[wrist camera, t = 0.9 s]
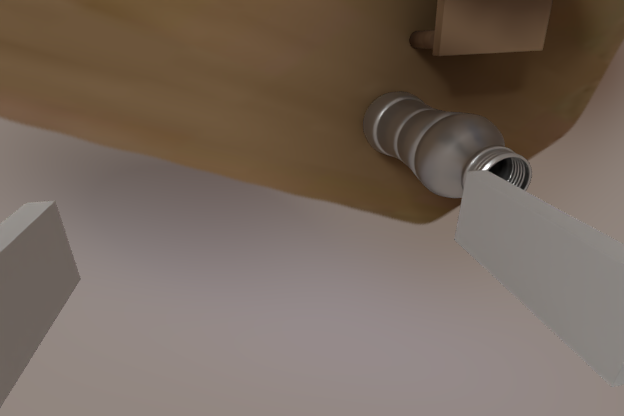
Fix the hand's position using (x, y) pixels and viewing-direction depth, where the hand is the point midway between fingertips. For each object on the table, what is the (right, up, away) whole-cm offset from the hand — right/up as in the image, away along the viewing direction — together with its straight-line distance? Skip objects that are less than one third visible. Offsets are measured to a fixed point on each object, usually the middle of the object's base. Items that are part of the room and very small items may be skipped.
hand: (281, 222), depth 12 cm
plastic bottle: (+9, +10, +29) cm, 32 cm away
